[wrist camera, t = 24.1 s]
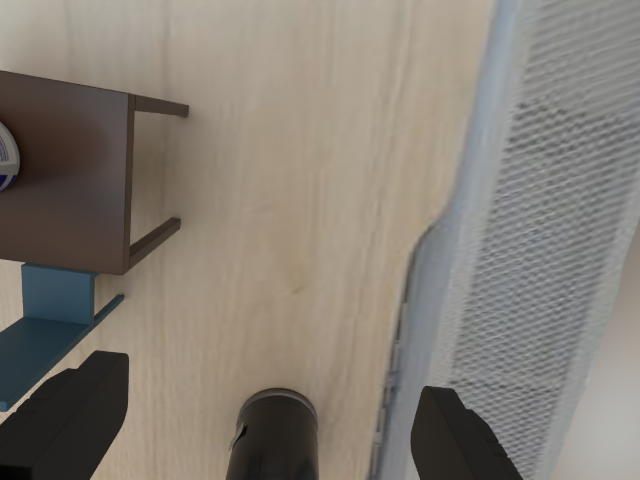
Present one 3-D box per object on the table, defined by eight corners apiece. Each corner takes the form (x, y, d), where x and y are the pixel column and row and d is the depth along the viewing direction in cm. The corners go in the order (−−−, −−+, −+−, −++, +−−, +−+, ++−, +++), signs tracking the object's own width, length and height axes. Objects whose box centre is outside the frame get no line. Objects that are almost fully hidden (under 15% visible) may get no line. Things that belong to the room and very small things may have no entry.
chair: (123, 300, 41) (6, 412, 25) (68, 292, 40) (-88, 403, 24) (125, 250, 39) (2, 335, 23) (68, 241, 39) (-100, 323, 23)
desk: (180, 228, 39) (122, 276, 27) (13, 204, 38) (-130, 241, 25) (189, 105, 36) (128, 93, 23) (7, 73, 34) (-161, 42, 22)
